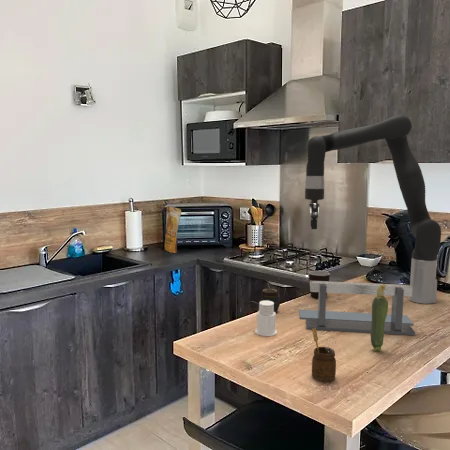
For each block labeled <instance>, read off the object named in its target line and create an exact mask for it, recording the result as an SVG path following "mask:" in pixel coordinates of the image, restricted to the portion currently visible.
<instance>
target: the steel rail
mask: <svg viewBox="0 0 450 450" xmlns="http://www.w3.org/2000/svg"><path fill="white" fill-rule="evenodd" d="M382 284H383V283H370V282H352V281H351V282H349V281H346V282H345V281H329V282H328V281H310V283H309V291H310V292H320V285H325V286H327V288H326V293H327V294H328V293H329V294H347V295H348V294H350V295H351V294H352V295H353V294H354V295H368V296H369V295H372V296H377V289H378V288H379V287H380V285H382ZM384 284H385V289H386V290H385V289H384V288H383V289H384V296H391V297H392V296H396V290H397V289H404V297H409V296H411V297H412V289H413V287H412V286H411V285H410V284H394V283H390V284H389V283H384ZM310 292H309V293H310Z"/></svg>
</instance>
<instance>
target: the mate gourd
mask: <svg viewBox="0 0 450 450" xmlns="http://www.w3.org/2000/svg"><path fill="white" fill-rule="evenodd" d="M267 287H268V288H264V289H262V291H261V293H262V294H261V298H260V299H259V300H260V301H272V302H274V312H275V313H276V312H277V311H278V310H279V307H281V303H280V299H279V295H278V290H277V289H275V288H271V287H270V282H267ZM260 301H259V302H260Z"/></svg>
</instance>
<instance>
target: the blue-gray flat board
mask: <svg viewBox="0 0 450 450" xmlns="http://www.w3.org/2000/svg"><path fill="white" fill-rule="evenodd" d="M298 312H299V320H306V318H307V319H318V309H317V310H316V309H315V310H313V309H299V311H298ZM325 319H326V320H344V321H362V322H372V312H353V311H333V310H326V314H325ZM385 323H391V313H390V314H389V313H387V316H386V319H385ZM402 324H409V325H410V326H414V322H413V321H412V320H411V319H410V317H409V316H408V315H407V314H402Z"/></svg>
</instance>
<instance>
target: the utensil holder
mask: <svg viewBox="0 0 450 450" xmlns="http://www.w3.org/2000/svg"><path fill="white" fill-rule="evenodd" d="M312 337H313V341H314V342H315V346H316V347H315V348H314V350H313V356H312V359H311V376H312V378H313V379H314V380H317V381H319V382H332V381H334V380H335V379H336V372H337V361H336V357H335V356H336V352H335V348H336V346H334V348H333V347H329V346H330V344H328V343H330V341H331V339H332V342H334V341H336V339H335V337H332V336H330V338H328V339H326V342H325V344H328V345H327V346H319V344H318V340H319V337H318V332H317V330H316V328H315V329H314V330H313V329H312ZM328 340H329V341H328ZM333 344H335V345H336V344H337V342H335V343H332V346H333Z"/></svg>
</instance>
